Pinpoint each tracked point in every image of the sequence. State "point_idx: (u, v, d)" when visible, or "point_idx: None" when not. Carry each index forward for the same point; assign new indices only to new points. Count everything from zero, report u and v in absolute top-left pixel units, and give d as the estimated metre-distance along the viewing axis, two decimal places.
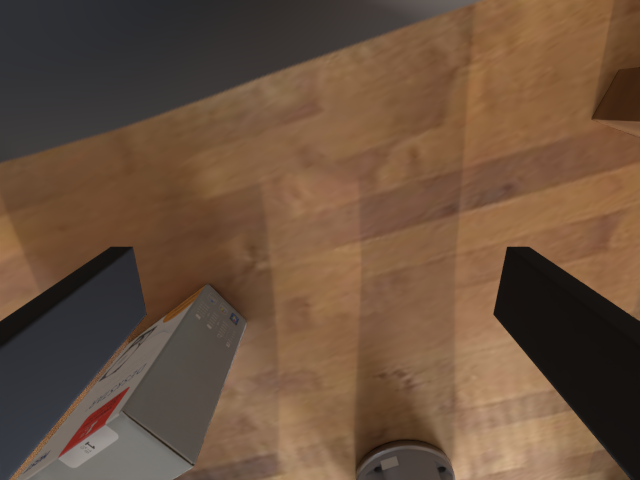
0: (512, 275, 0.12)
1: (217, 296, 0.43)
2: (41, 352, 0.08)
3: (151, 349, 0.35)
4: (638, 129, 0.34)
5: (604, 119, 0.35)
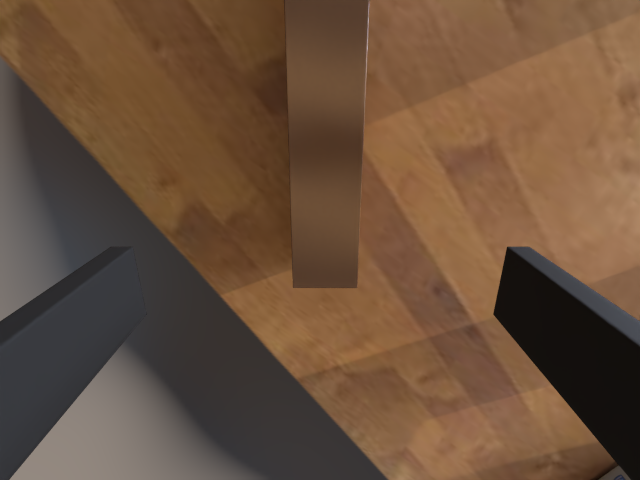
0: (512, 275, 0.12)
1: None
2: (41, 352, 0.08)
3: None
4: None
5: None
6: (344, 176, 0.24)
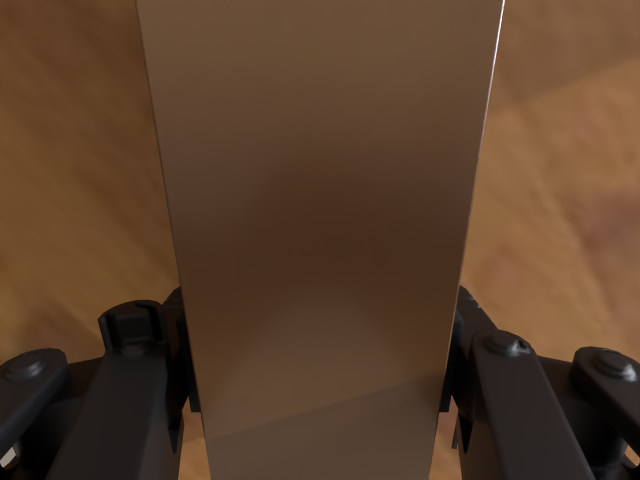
0: None
1: None
2: None
3: None
4: None
5: None
6: (386, 352, 0.07)
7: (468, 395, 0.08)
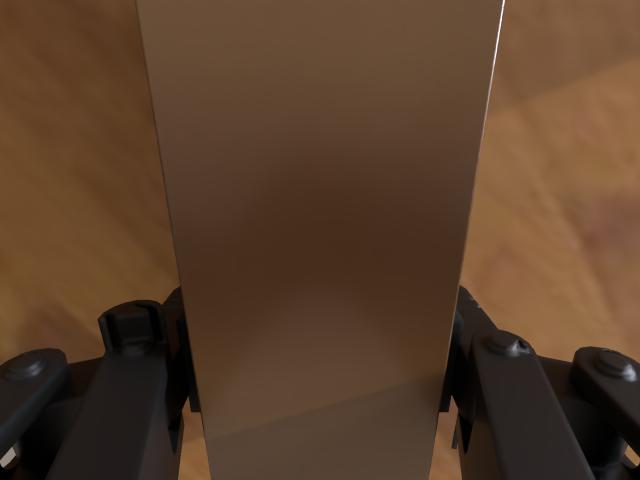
0: None
1: None
2: None
3: None
4: None
5: None
6: (386, 352, 0.07)
7: (468, 395, 0.08)
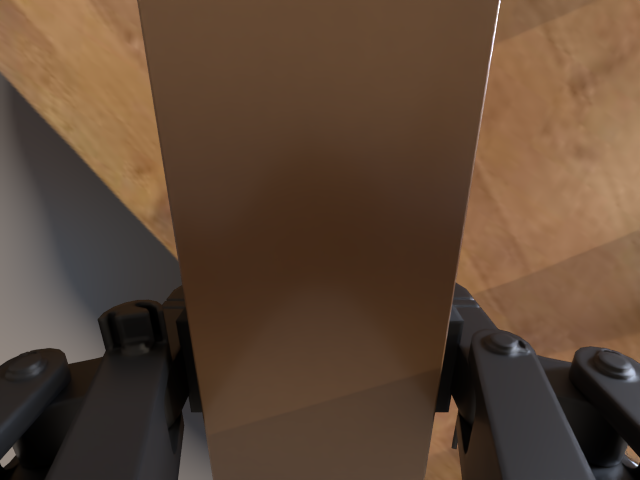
0: None
1: None
2: None
3: None
4: None
5: None
6: (383, 349, 0.07)
7: (468, 395, 0.08)
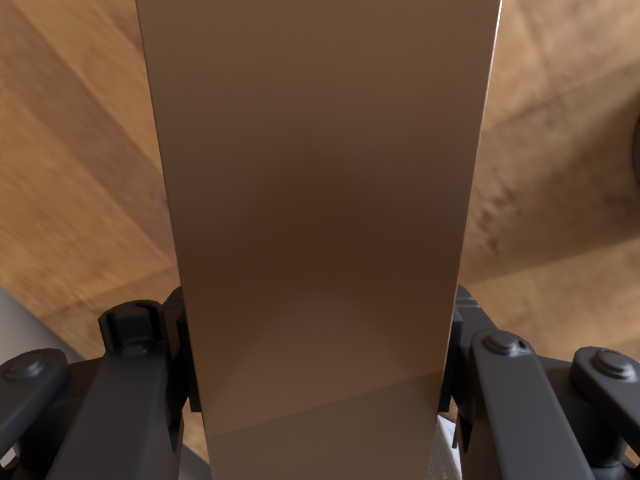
0: None
1: None
2: None
3: None
4: None
5: None
6: (385, 350, 0.07)
7: (468, 395, 0.08)
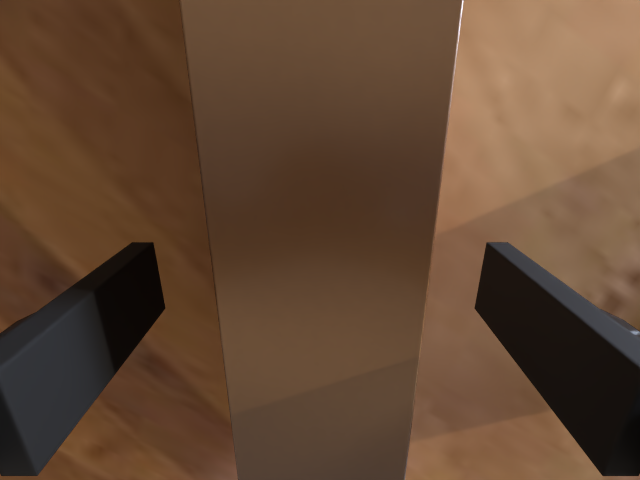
0: (491, 270, 0.12)
1: None
2: (75, 341, 0.08)
3: None
4: None
5: None
6: (376, 282, 0.08)
7: None
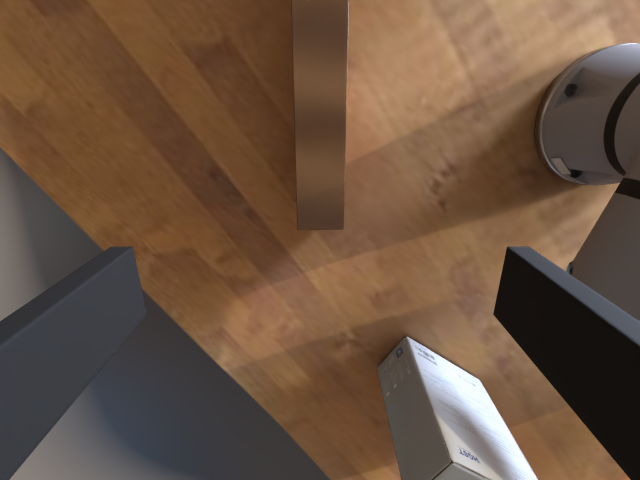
0: (512, 275, 0.12)
1: (384, 363, 0.53)
2: (41, 352, 0.08)
3: None
4: None
5: None
6: (333, 147, 0.35)
7: None
